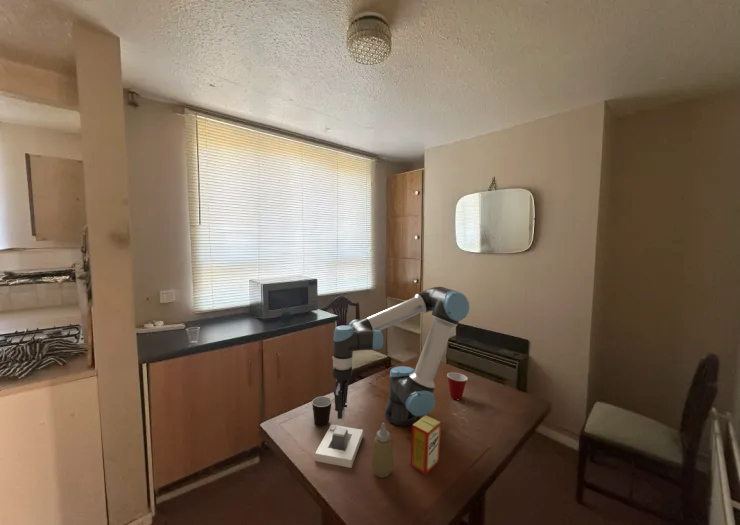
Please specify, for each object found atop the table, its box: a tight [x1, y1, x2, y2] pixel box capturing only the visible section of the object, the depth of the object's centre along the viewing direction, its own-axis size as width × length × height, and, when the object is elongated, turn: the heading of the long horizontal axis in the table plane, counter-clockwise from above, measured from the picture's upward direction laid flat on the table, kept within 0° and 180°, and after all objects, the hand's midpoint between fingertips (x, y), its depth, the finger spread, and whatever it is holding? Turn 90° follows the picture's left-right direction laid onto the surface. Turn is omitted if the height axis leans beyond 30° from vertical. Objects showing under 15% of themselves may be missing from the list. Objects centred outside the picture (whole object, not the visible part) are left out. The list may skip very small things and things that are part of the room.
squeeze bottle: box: [370, 422, 394, 479], centre depth 107 cm, size 8×8×18 cm
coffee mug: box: [311, 395, 333, 428], centre depth 136 cm, size 12×9×10 cm
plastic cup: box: [446, 372, 468, 400], centre depth 161 cm, size 11×11×12 cm
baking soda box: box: [409, 414, 442, 476], centre depth 112 cm, size 10×6×16 cm
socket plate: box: [314, 424, 364, 469], centre depth 119 cm, size 14×18×4 cm
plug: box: [332, 427, 348, 451], centre depth 119 cm, size 5×4×7 cm
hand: (340, 424), depth 119 cm, fingers closed
